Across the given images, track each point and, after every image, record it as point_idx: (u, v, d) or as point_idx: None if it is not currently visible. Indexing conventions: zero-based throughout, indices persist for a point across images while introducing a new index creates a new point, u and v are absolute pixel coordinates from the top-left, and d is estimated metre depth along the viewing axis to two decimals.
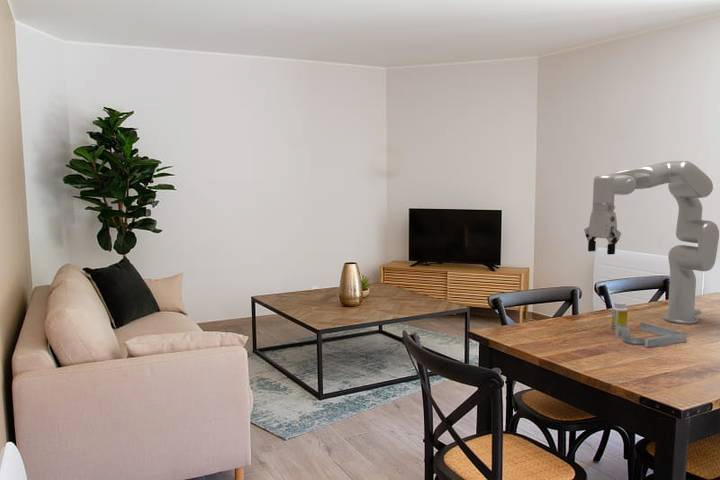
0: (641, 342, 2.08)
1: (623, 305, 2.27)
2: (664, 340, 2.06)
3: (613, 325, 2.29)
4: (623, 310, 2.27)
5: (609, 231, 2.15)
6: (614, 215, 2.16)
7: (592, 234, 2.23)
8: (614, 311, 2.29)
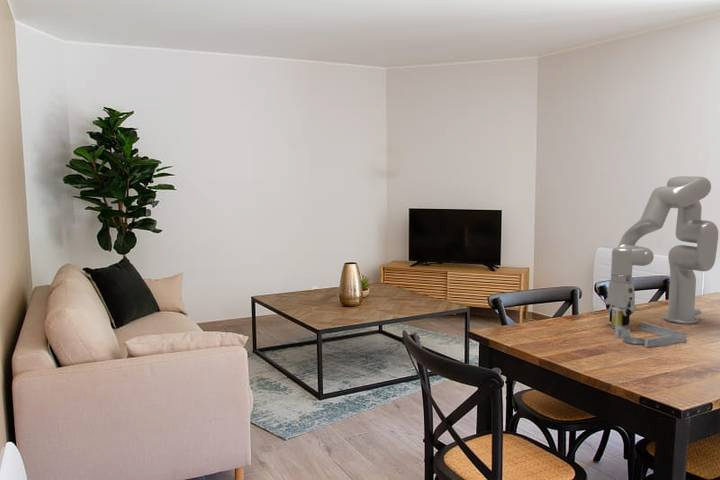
0: (641, 342, 2.08)
1: None
2: (664, 340, 2.06)
3: (613, 325, 2.29)
4: None
5: (627, 302, 2.24)
6: (632, 286, 2.25)
7: (610, 303, 2.31)
8: (614, 311, 2.29)
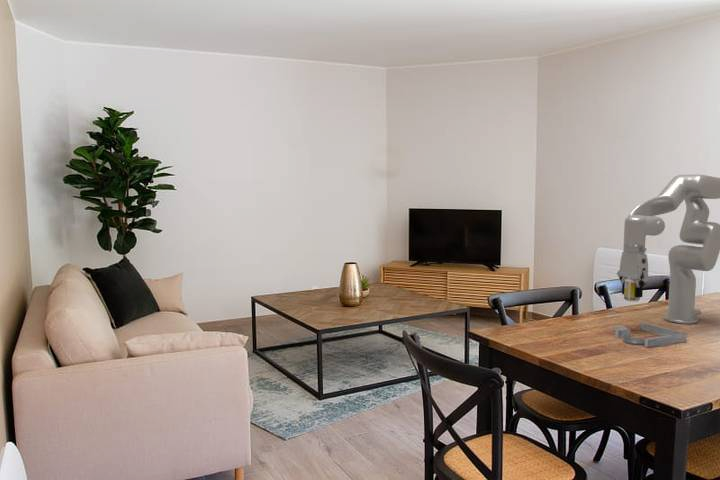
0: (641, 342, 2.08)
1: None
2: (664, 340, 2.06)
3: (625, 297, 2.23)
4: None
5: (640, 273, 2.18)
6: (645, 257, 2.18)
7: (623, 274, 2.25)
8: (626, 283, 2.22)
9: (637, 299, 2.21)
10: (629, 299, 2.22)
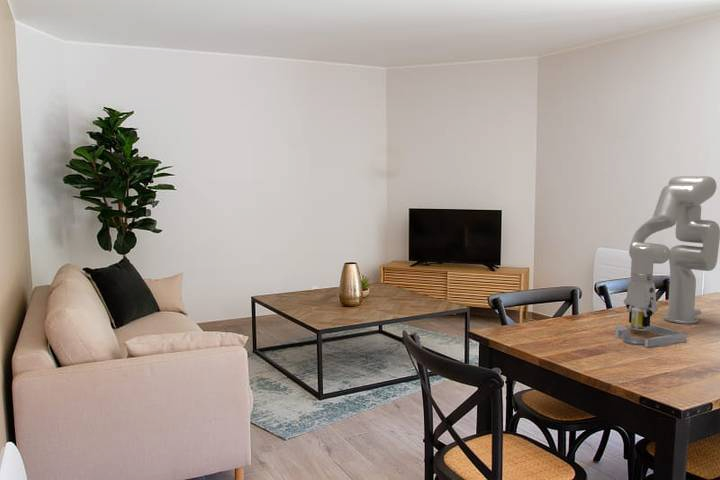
0: (641, 342, 2.08)
1: None
2: (664, 340, 2.06)
3: (633, 326, 2.21)
4: None
5: (648, 302, 2.15)
6: (653, 286, 2.16)
7: (630, 303, 2.22)
8: (634, 312, 2.20)
9: (645, 328, 2.19)
10: (637, 328, 2.19)
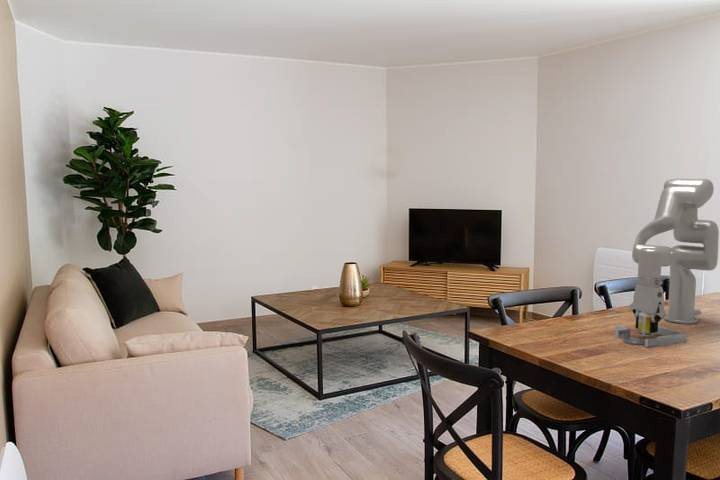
0: (641, 342, 2.08)
1: None
2: (664, 340, 2.06)
3: (640, 332, 2.12)
4: None
5: (656, 307, 2.06)
6: (661, 290, 2.07)
7: (637, 308, 2.13)
8: (641, 317, 2.11)
9: (652, 334, 2.10)
10: (644, 334, 2.11)
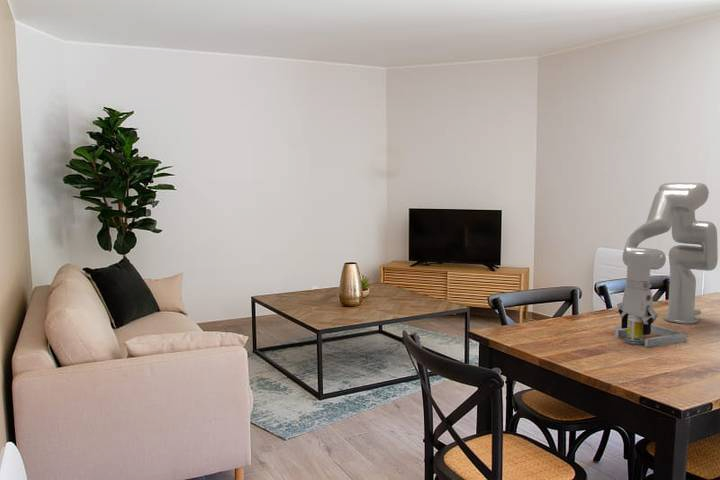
0: (641, 342, 2.08)
1: None
2: (664, 340, 2.06)
3: (629, 337, 2.10)
4: (640, 321, 2.08)
5: (645, 310, 2.04)
6: (650, 293, 2.05)
7: (626, 311, 2.11)
8: (630, 322, 2.09)
9: (641, 339, 2.09)
10: (633, 339, 2.09)
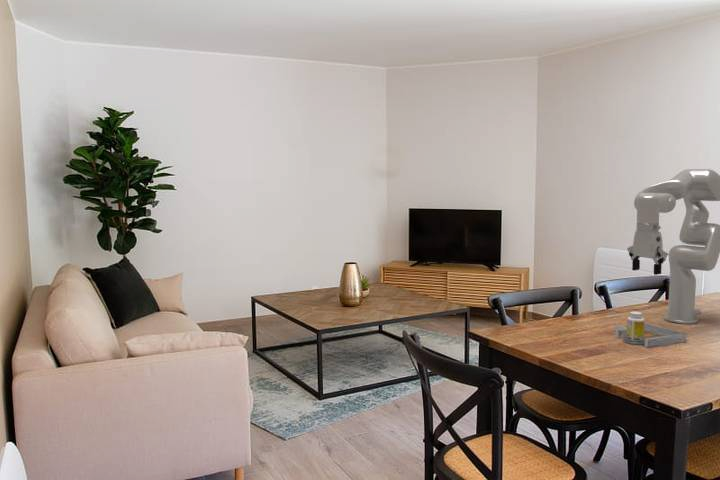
0: (641, 342, 2.08)
1: (639, 315, 2.08)
2: (664, 340, 2.06)
3: (629, 337, 2.10)
4: (640, 321, 2.08)
5: (655, 251, 2.14)
6: (660, 235, 2.15)
7: (637, 254, 2.21)
8: (630, 322, 2.09)
9: (641, 339, 2.09)
10: (633, 339, 2.09)
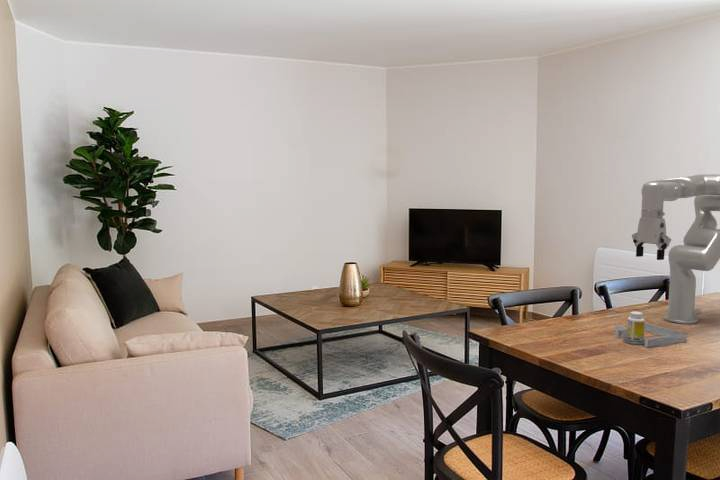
0: (641, 342, 2.08)
1: (640, 315, 2.08)
2: (664, 340, 2.06)
3: (629, 337, 2.10)
4: (640, 321, 2.08)
5: (659, 237, 2.20)
6: (663, 221, 2.21)
7: (641, 240, 2.27)
8: (630, 322, 2.09)
9: (641, 339, 2.08)
10: (633, 339, 2.09)
